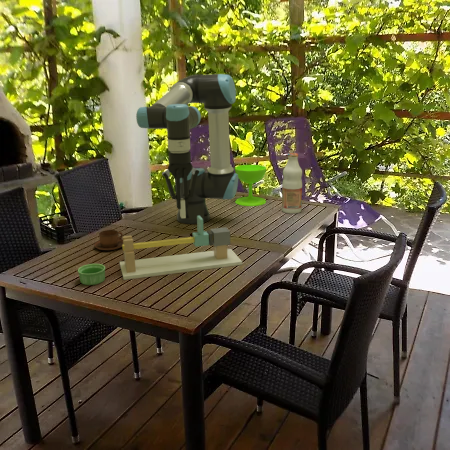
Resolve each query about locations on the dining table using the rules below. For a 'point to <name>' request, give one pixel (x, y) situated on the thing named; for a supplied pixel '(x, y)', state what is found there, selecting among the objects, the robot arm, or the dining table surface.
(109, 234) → the cup and saucer
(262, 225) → the dining table surface
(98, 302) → the dining table surface
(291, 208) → the fruit juice
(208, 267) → the cord rig
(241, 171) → the wineglass
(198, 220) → the sleeve
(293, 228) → the dining table surface
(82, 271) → the ramekin
